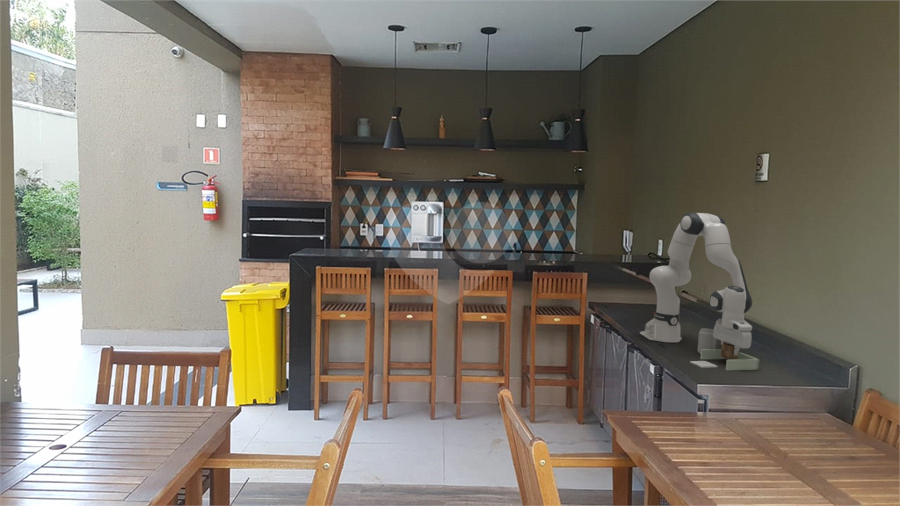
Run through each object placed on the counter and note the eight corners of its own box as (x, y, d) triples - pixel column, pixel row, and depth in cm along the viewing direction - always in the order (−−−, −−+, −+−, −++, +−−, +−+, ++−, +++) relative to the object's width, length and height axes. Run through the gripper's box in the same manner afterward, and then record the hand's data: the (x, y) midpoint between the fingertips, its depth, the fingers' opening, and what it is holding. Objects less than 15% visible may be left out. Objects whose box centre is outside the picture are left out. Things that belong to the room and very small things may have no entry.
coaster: (690, 362, 263) (690, 361, 263) (705, 362, 265) (705, 360, 265) (701, 367, 255) (701, 366, 255) (717, 367, 257) (717, 365, 257)
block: (720, 356, 265) (721, 343, 264) (730, 356, 266) (731, 343, 265) (728, 359, 260) (729, 346, 259) (738, 359, 261) (739, 346, 261)
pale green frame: (700, 359, 270) (701, 349, 270) (729, 358, 274) (730, 348, 273) (727, 370, 253) (728, 360, 252) (758, 369, 256) (759, 359, 256)
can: (715, 356, 275) (718, 331, 274) (699, 355, 277) (701, 330, 276) (712, 352, 283) (714, 328, 282) (695, 351, 284) (697, 327, 283)
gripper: (710, 317, 271) (708, 347, 272) (742, 328, 251) (740, 359, 252) (722, 317, 272) (719, 347, 274) (755, 327, 253) (752, 359, 254)
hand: (729, 353), depth 263 cm, fingers closed on block, 5 cm apart
